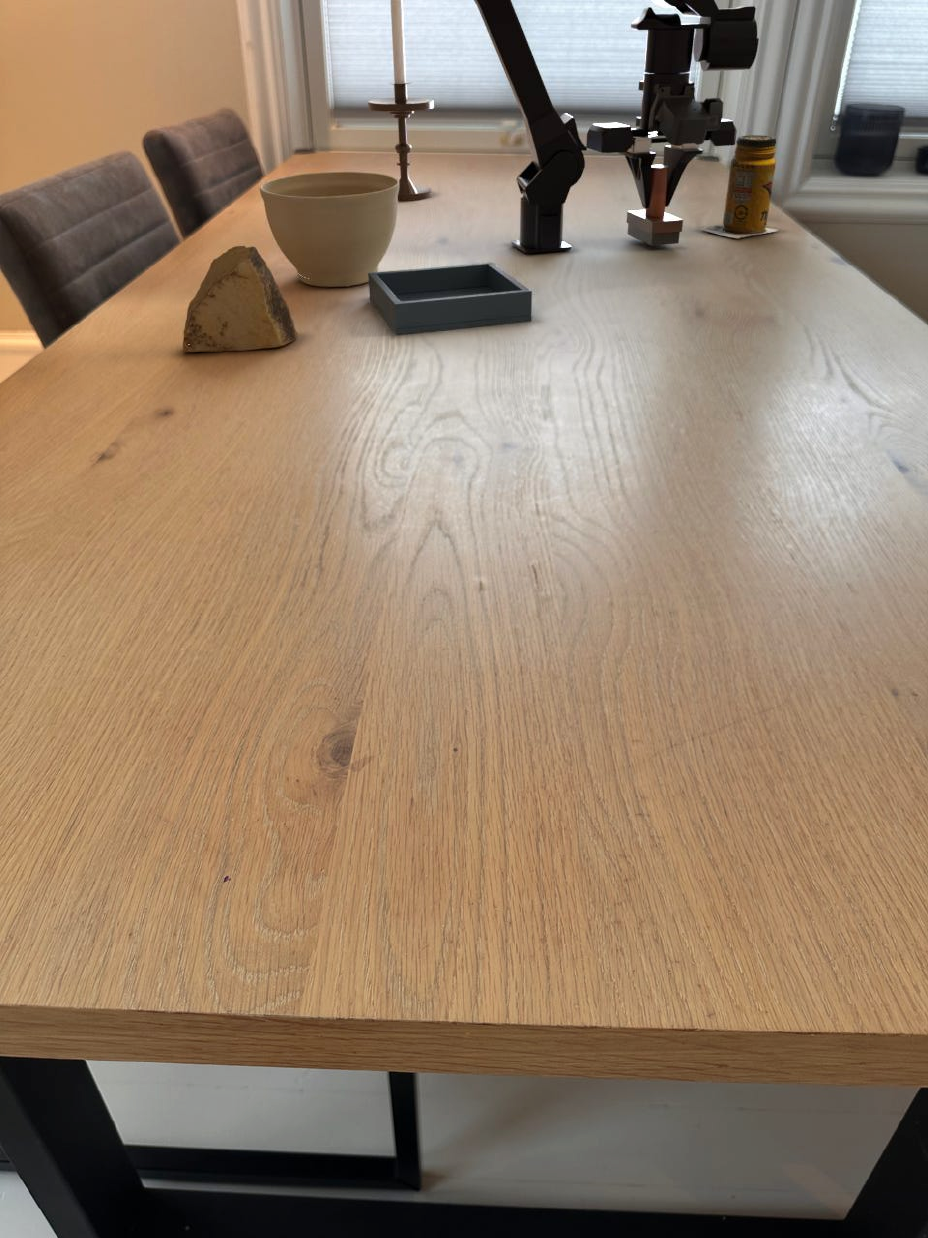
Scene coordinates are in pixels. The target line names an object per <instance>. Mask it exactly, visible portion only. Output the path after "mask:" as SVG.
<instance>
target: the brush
mask: <svg viewBox="0 0 928 1238" xmlns="http://www.w3.org/2000/svg"><path fill="white" fill-rule="evenodd" d="M668 172H669V166H666V165H663V164H652V170H651V191H650V201H649V207H648V208H644V209H639V210H628V211H627V212H626V223H627V235H628V236H630V237H632V238H635V239H637V240H639V241H641V242H643V243H645V244H647V245H649V246H651V247H653V246H663V245H676V244H679V242H680V234H681V232H683V226H684V225H683V224H684V219H682V218H679V217H677V216H675V215H673V214H670V213H667V212H666V207H665V204H666V194H667V183H668Z"/></svg>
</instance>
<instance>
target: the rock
mask: <svg viewBox="0 0 928 1238" xmlns="http://www.w3.org/2000/svg"><path fill="white" fill-rule="evenodd" d="M298 335H299V334H298V331H297V329H296V326H295V322H294V320H293V318H292V316H291V312H290V307H289V305H288V302H287V300H286V299H285V298H284V296H283V294H282V293H281V290H280V288H279V285H278V284H277V282H276V280H275V277H274V275H273V274H272V271H271V269H270V268H269V267H268V265H267V262H266V261H265V260H264V258H263V257H262V256H261V254H260V252H259V251H258V248H257V247H256V246H248V247H246V246H245V245H236V246H232V247H231V248H229V249H227V251H225V252H223V253H222V254H220V255H219V256H217V258H214V259H213V260H212V261H211V263H210V265H209V268H208V271H207V272H206V275H205V276H204V279H203V280H202V282H201V284H200V287H199V288H198V290H197V292H196V294H195V295H194V297H193V298H192V299H191V300H190V302H189V304H188V307H187V311H186V320H185V323H184V329H183V340H182V351H183V352H184V353H198V352H202V353H203V352H204V353H205V352H207V353H210V352H211V353H214V352H215V353H218V352H219V353H222V352H229V351H235V352H236V351H237V352H241V351H253V350H261V349H262V350H263V349H273V348H280V347H283V346H286V345H288V344H290V343H291V342H293V341H295V340H296V339H297V337H298ZM188 344H190V345H188Z"/></svg>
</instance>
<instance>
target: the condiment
mask: <svg viewBox="0 0 928 1238" xmlns="http://www.w3.org/2000/svg"><path fill="white" fill-rule="evenodd" d="M776 144H777V138H775V136H771V135H758V134H757V135H756V134H755V135H753V134H752V135H750V134H749V135H741V136H738V137H737V138H736V141H735V149H734V151H733V152H734V155H733V156H732V159H731V160H730V165H729V173H728V181H727V189H726V198H725V203H724V204H725V205H724V212H723V220H722V222H723V223H722V224H723V225H721V224H720V225H716V224H715V225H713V226H708V227H706V226H705V227H704V226H703V227H701V228H700V227H699V230H703V231H704V232H708V233H712V234H715V235H719V236H720V237H721V236H724V237H728V238H734V239H740V238H747V237H752V236H759V235H766V234H771V233H776V232H779V229H777V228H776V229H775V228H771V227H769V228H768V227H766V226H767V223H768V217H769V211H770V205H771V197H772V193H773V192H772V191H773V185H774V179H775V177H774V176H775V172H776V164H777V163H776V159H775V155H776Z"/></svg>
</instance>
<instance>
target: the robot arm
mask: <svg viewBox="0 0 928 1238" xmlns="http://www.w3.org/2000/svg"><path fill="white" fill-rule="evenodd" d="M473 2H474V3H475V5H476V7H477V9H478V11H479V14H480V16H481V18H482V21H483V24H484V26H485V27H486V28H485V29H486V31H487V33H488V35H489V38H490V40H491V43H492V45H493V47H494V50H495V53H496V54H497V57H498V60H499V62H500V64H501V67H502V69H503V72H504V74H505V76H506V78H507V82H508V83H509V86H510V88H511V90H512V94H513V95H514V98H515V101H516V103H517V105H518V107H519V110H520V113H521V115H522V118H523V122H524V126H525V132H526V138H527V144H528V148H529V151H530V156H531V161H530V162H529V163H528V164H527V166H526V167H525V168H524V169H523V170H522V171H521V172H520V173H519V174H518V176H516V178H515V179H516V184H517V186H518V189H519V192H520V194H521V195H522V197H520V202H519V203H520V204H519V205H520V207H519V208H520V210H519V211H520V212H519V213H520V214H519V239H513V240H512V239H511V244H510V245H512V246H513V247H514V248H516V249H518V250H519V251H521V252H523V253H524V254H540V253H551V252H562V251H570V250H572V245H570V244H568V243H567V242H566V241H563V234H564V233H563V232H564V231H563V229H564V204H565V203H566V201H567V198H568V196H569V194H570V190H571V188H572V187H573V186H574V185H576V184H578V182H579V180H580V179H581V177H582V176H583V174H584V170H585V168H586V160H585V156H584V153H583V152H587V150H588V149H589V150H592V151H595V152H598V153H602V154H613V153H617V154H619V155H622V156H624V157H625V161H626V162H627V165H628V167H629V169H630V173H631V175H632V176H633V180H634V183H635V187H636V190H637V193H638V197H639V200H640V204H641V206H642V208H644V209H645V208H648V207H649V201H650V191H651V170H652V165H654V161H655V159H656V156H657V152H653V151H652V144H661V143H663V144H664V143H668V144H669V145H663V163H662V165H666V166H669V172H668V183H667V194H666V204H665V208H666V207H667V208H669V206H670V204H671V201H672V200H673V197H674V195H675V192H676V190H677V187H678V185H679V183H680V181H681V178H682V176H683V174H684V173H685V170H686V169H687V167H688V165H689V163H690V162H691V161H693V160H694V158H695V157H696V156H698V155H699V156H700V155H703V153H704V151H705V150H704V149H702V148H700V145H702V144H704V142H705V141H706V142H707V141H709V142H710V144H711V145H712V146H713V147H729V146H736V141H737V133H738V130H737V126H736V124H735V122H734V120H733V119H732V120H730V119H727V118H723V114H724V102H723V100H722V99H721V98H720V97H708V98H707V97H706V98H705V99H704V100H701V101H700V100H699V101H698V100H696V96H695V93H696V87H695V82H693V81H691V71H692V60H694V62H695V63H699V64H700V65H699V66H700V69H701V70H702V72H731V71H733V72H734V71H736V72H737V71H749V70H750V69H751V68H752V67H753V65H754V63H755V60H756V57H757V53H758V48H759V37H758V25H757V20H756V18H755V17H756V16H755V15H756V11H757V8H756V6H754V5H741V6H740V5H739V6H737V7H733V8H719V6H718V4H717V3H716V1H715V0H651V2H653V3H654V4H655V5H657V6H659V7H662V8H674V9H675V10H677V12H679V13H680V14H681V15H682V16H684V17H697V18H699V23H698V22H696V23H694V22H693V23H692V22H691V23H682V20H681V17H680V15H679V14H678V13H656V12H655V11H654V9H653V8H652V7H651V6H644V8H643V10H642V12H641V13H640V14H639V16H638V17H637V18H636V19H635V20H633V21H632V22H631V23H630V29H631V30H633V31H646V41H645V42H646V43H645V57H644V67H643V80H638V89H637V90H638V91H641V92H642V93H641V94H642V95H641V106H640V107H641V108H640V116H636V118H635V127H637V128H632V126H630V125H627V124H623V123H620V122H606V123H605V122H603V123H591V125H590V127H589V128H588V130H587V133H586V142H585V143H586V145H585V144H584V143H583V142H582V139H581V138H580V135H579V131H578V126H577V122H576V119H575V117H573V116H572V115H571V114H568V113H566V112H564V113H563V114H562V115H559V113H558V111H557V109H555V107H554V106H553V103H552V100H551V98H550V95H549V92H548V90H547V87H546V85H545V83H544V80H543V78H542V75H541V73H540V70H539V67H538V65H537V63H536V61H535V60H536V59H535V57H534V54H533V52H532V50H531V48H530V45H529V42H528V40H527V37H526V35H525V32H524V30H523V27H522V25H521V22H520V19H519V17H518V14H517V13H516V9H515V7H514V4H513V2H512V0H473Z"/></svg>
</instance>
